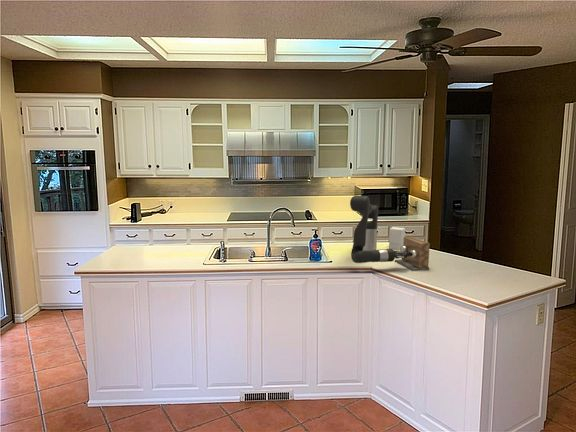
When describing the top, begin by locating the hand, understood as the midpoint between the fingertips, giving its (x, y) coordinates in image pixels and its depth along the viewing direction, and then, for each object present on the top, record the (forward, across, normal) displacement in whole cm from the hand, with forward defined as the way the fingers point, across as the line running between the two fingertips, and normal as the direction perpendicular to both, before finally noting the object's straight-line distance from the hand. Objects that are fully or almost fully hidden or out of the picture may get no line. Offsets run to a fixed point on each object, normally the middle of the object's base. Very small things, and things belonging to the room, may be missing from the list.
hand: (411, 253), depth 260 cm
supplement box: (+17, +50, +9) cm, 54 cm away
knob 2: (+4, 0, +2) cm, 5 cm away
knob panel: (+4, +6, +9) cm, 11 cm away
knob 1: (+4, +12, +2) cm, 13 cm away
